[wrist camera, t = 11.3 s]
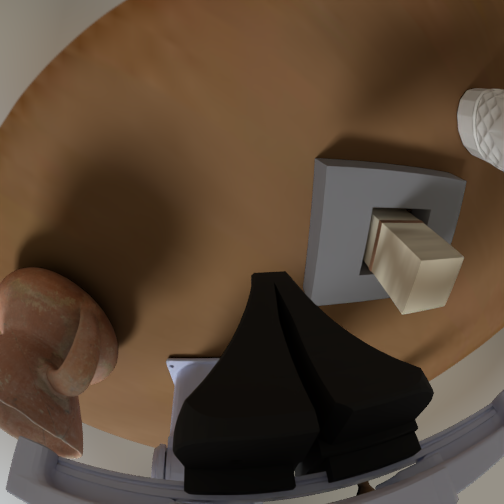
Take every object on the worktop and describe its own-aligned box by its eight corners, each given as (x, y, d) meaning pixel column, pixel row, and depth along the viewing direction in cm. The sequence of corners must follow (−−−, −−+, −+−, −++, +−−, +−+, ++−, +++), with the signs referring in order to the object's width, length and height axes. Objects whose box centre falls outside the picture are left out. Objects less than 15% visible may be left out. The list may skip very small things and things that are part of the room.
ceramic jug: (65, 367, 28) (37, 457, 16) (-9, 286, 21) (-66, 373, 9) (169, 336, 26) (155, 472, 14) (78, 215, 19) (-27, 345, 7)
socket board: (421, 276, 25) (433, 291, 22) (303, 287, 24) (310, 306, 21) (448, 172, 19) (466, 181, 17) (315, 158, 18) (326, 165, 16)
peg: (395, 250, 23) (444, 306, 16) (356, 252, 22) (401, 315, 15) (405, 208, 21) (465, 256, 14) (364, 207, 20) (421, 260, 13)
